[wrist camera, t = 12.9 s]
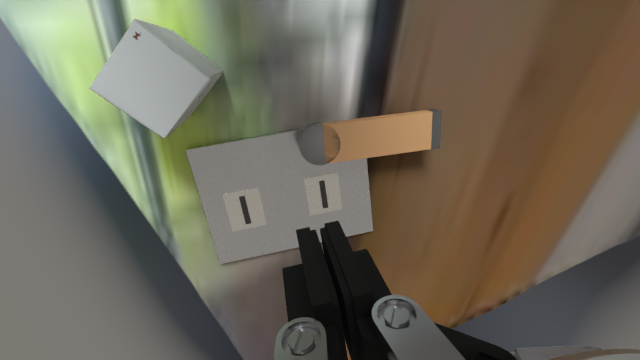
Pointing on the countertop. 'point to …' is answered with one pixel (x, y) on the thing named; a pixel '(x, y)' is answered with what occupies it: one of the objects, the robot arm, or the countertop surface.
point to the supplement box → (156, 77)
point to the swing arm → (370, 137)
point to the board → (275, 194)
